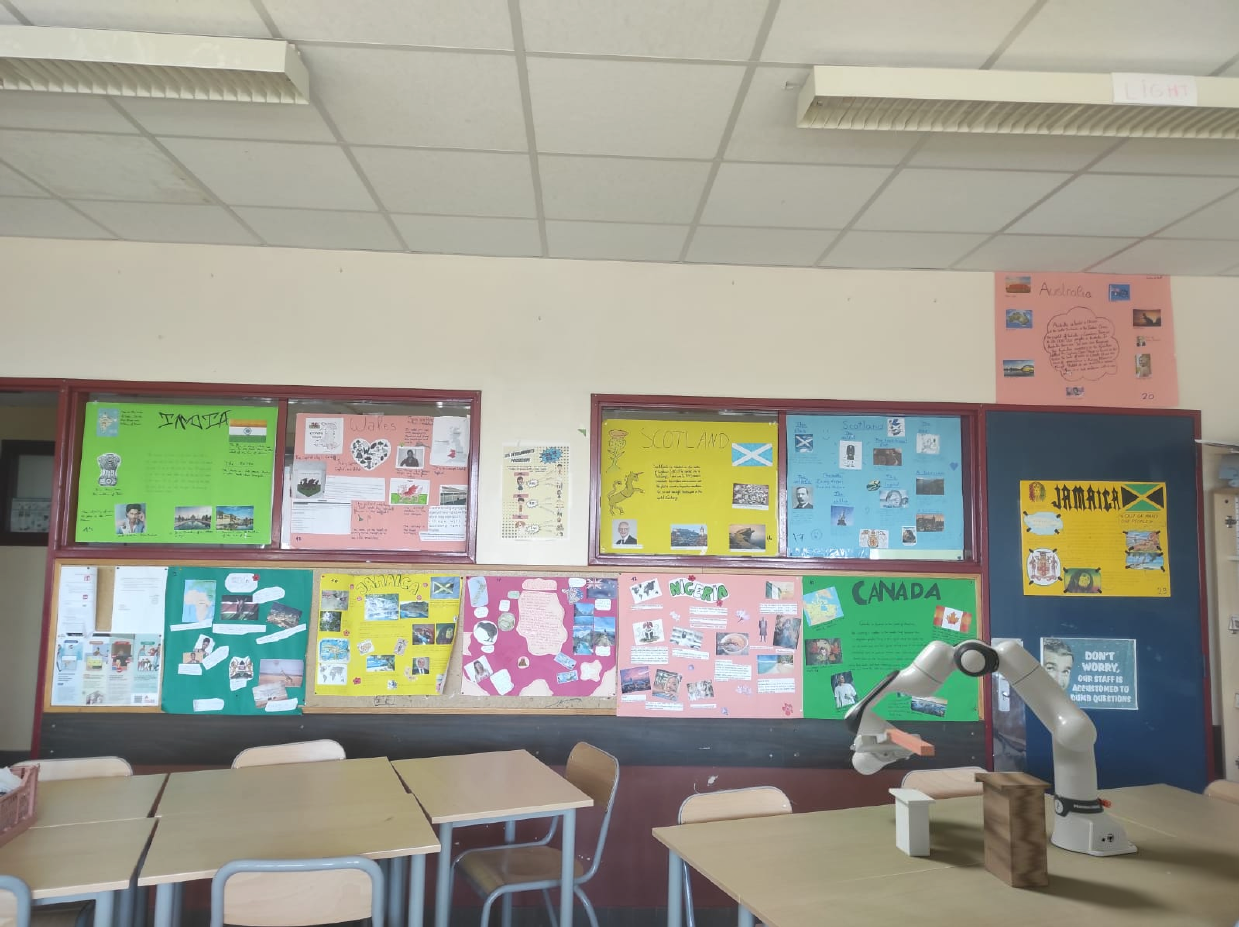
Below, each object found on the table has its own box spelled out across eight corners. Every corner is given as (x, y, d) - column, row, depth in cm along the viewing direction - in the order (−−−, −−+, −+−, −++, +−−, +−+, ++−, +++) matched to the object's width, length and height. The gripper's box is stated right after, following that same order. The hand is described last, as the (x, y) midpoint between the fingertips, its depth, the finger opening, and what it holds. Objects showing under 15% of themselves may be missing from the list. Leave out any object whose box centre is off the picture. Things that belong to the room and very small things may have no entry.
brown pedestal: (1025, 867, 223) (1021, 771, 226) (1055, 885, 210) (1051, 784, 213) (977, 868, 221) (974, 772, 224) (1004, 887, 209) (1001, 785, 211)
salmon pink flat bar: (897, 737, 249) (897, 729, 249) (934, 755, 227) (934, 746, 228) (885, 737, 249) (885, 729, 249) (920, 755, 227) (920, 746, 227)
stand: (915, 843, 240) (914, 788, 242) (936, 857, 228) (935, 800, 230) (890, 843, 239) (888, 788, 241) (909, 858, 227) (908, 800, 229)
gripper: (846, 739, 257) (861, 724, 246) (907, 738, 260) (926, 724, 248) (850, 759, 253) (866, 745, 242) (913, 759, 256) (931, 745, 245)
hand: (897, 734), depth 245 cm, fingers closed on salmon pink flat bar, 4 cm apart
